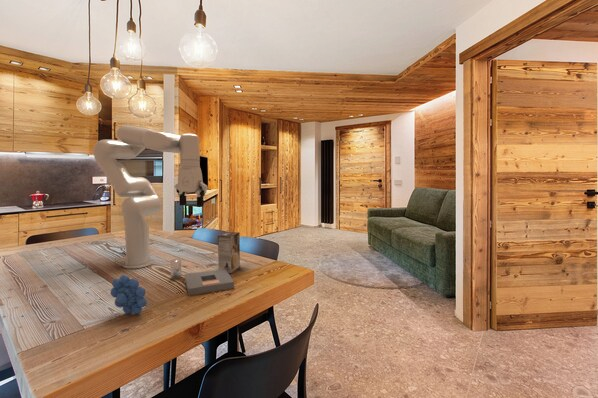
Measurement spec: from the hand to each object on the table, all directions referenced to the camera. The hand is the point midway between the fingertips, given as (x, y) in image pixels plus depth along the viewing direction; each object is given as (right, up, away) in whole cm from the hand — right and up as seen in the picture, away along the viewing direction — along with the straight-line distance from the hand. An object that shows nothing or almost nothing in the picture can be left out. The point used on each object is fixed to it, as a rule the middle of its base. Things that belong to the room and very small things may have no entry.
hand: (191, 205), depth 121 cm
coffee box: (+14, -29, +8) cm, 33 cm away
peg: (-5, -29, -3) cm, 30 cm away
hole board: (+10, -30, -9) cm, 33 cm away
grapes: (-7, -33, -34) cm, 48 cm away
